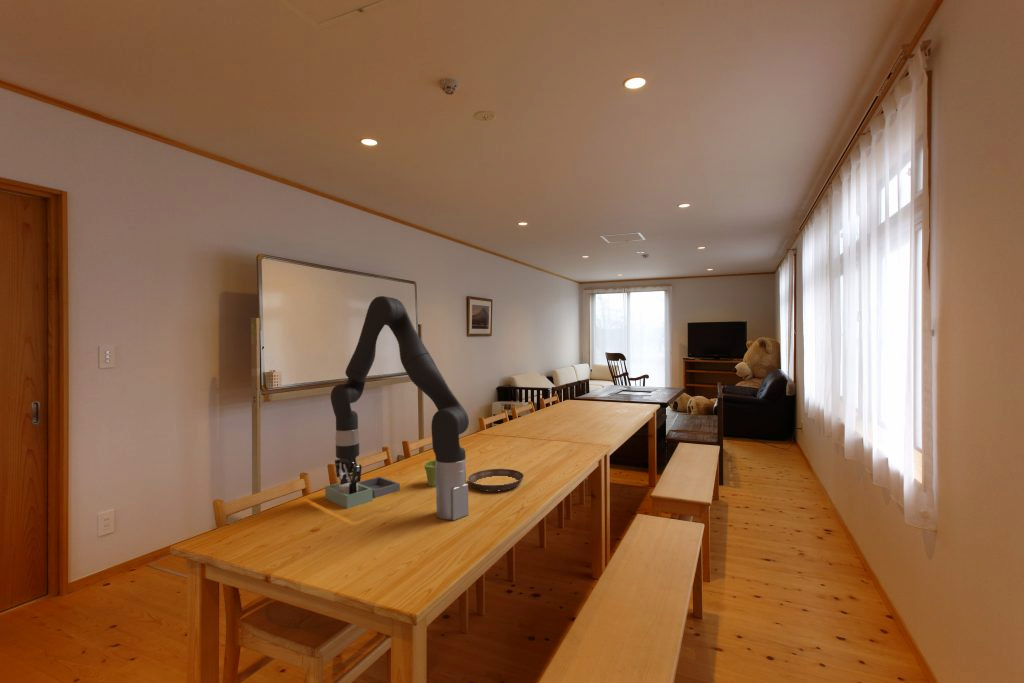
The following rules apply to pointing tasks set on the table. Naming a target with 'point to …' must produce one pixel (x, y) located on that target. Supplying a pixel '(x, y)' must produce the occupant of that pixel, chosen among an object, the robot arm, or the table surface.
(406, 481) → the table surface
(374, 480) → the charcoal tub
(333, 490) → the sage green bin
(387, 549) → the table surface
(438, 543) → the table surface
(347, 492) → the pale pink block
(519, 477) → the plant saucer
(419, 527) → the table surface
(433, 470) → the plant pot
